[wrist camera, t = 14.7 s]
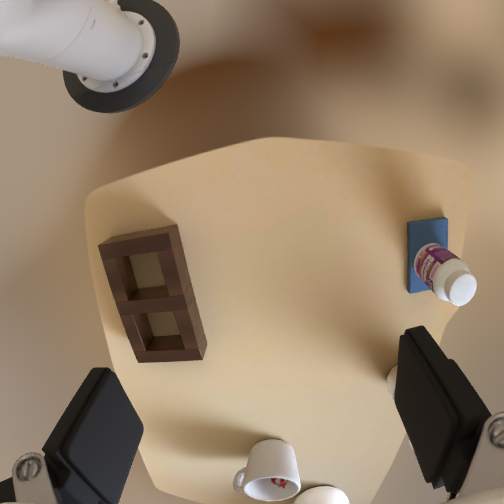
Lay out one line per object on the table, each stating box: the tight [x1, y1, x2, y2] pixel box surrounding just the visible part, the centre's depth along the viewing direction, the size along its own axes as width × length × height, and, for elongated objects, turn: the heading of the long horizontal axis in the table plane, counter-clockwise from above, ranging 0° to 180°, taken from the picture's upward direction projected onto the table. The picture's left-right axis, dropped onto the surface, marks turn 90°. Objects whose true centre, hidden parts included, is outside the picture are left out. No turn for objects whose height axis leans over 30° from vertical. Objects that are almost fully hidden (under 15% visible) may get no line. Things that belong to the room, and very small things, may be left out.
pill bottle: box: [414, 243, 476, 306], centre depth 35 cm, size 5×5×10 cm
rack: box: [98, 225, 207, 363], centre depth 42 cm, size 18×10×4 cm, turn 9°
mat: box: [407, 217, 448, 294], centre depth 40 cm, size 10×6×1 cm, turn 10°
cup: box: [233, 439, 301, 501], centre depth 49 cm, size 14×10×10 cm
